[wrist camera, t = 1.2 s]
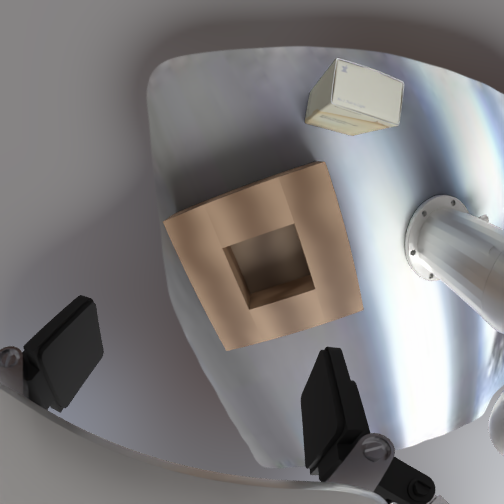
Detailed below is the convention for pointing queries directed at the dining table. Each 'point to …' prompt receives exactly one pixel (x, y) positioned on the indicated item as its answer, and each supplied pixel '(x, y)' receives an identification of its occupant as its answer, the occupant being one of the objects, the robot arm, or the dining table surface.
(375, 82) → the skincare box
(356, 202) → the dining table surface
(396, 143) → the dining table surface
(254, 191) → the socket block
